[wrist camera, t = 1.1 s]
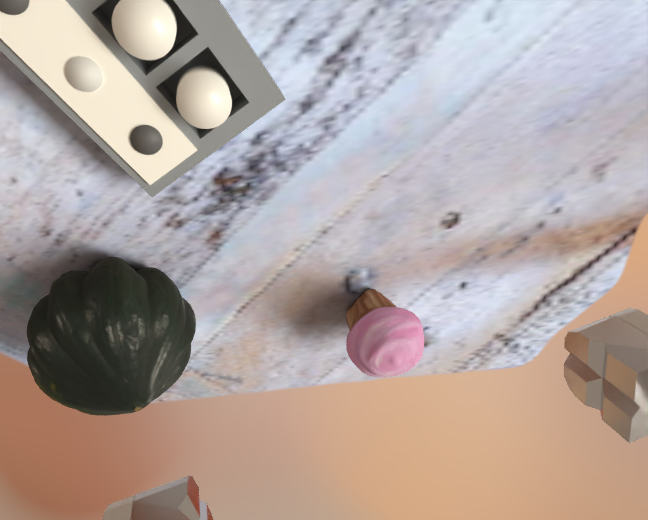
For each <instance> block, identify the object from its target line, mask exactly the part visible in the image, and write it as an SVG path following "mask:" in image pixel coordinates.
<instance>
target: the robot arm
mask: <svg viewBox="0 0 648 520" xmlns="http://www.w3.org/2000/svg"><path fill="white" fill-rule="evenodd" d="M564 347H565V349H566V350H568V351H569V352H570V355H569V356H568V358H567V360H566V361H565V363H564V377H565V379H566V381H567V384H568V386H569V388H570V390H571V391H572V392H573V394H574V395H575V396H576V397H577V398H578V399H579V400H580V401H581V402H582V403H583V404H585V405H586V406H590V407H593V408H596V409H599V410H600V412H601V416H602V420H603V421H604V422H606V423H607V424H608V425H609V426H610V427H611V428H612V429H614V430H615V431H616V432H617V433H618V434H619V435H621V436H622V437H623V438H624V439H625V440H627V441H628V442H629V443H631V442H633V441H636V440H638V439H641V438H643V437H646V436H648V315H647V314H645V313H643V312H642V311H640V310H637V309H632V308H628V309H626V310H623V311H621V312H618V313H616V314H613V315H610V316H609V317H605V318H603V319H600V320H598V321H595V322H592V323H590V324H587V325H585V326H582V327H580V328H577V329H575V330H572V331H569V332H568V333H567V335H566V337H565V346H564ZM103 520H213V517H212V514H211V512H210V509H209V508H208V505H207V503H205V502H202V501H200V500H199V487H198V485H197V484H196V482H195V480H194V478H193V476H187V477H184V478H181V479H179V480H176V481H173V482H170V483H167V484H164V485H161V486H159V487H156V488H153V489H150V490H148V491H144V492H142V493H139V494H137V495H135V496H132V497H129V498H126V499H123V500H120V501H117V502H115V503H112V504H109V505H108V507H107V509H106V511H105V513H104V516H103Z"/></svg>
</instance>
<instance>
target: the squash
mask: <svg viewBox="0 0 648 520" xmlns="http://www.w3.org/2000/svg"><path fill="white" fill-rule="evenodd" d="M195 327H196V319H195V314H194V311H193V309H192V307H191V305H190V304H189V303H188V302H187V301H186V300H185V299H184V298H182V296H181V294H180V292H179V290H178V288H177V286H176V285H175V284H174V282H173V281H172V280H171V279H170V278H169V277H168V276H167V275H166V274H164V273H163V272H162V271H160V270H158V269H156V268H143V269H139V270H137V271H135V270H134V269H133V268H132V267H131V266H130V265H128V264H127V263H126V262H125V261H124V260H122V259H120V258H116V257H110V258H106V259H104V260H103V261H101V262H100V263H98V264H97V265H96V266H94V267H93V268H92V270H91V271H90V272H89V273H87V272H83V271H70V272H67V273H65V274H63V275H62V276H61V277H60V278H59V279H57V280H56V281H54V283H53V284H52V287H51V290H50V294H49V295H47V296H46V297H44V298H42V299H41V300H40V301H39V302H38V303H37V304H36V306H35V307H34V309H33V311H32V314H31V317H30V319H29V321H28V326H27V337H28V341H29V345H30V348H29V350H28V357H27V361H28V365H29V368H30V370H31V372H32V375H33V377H34V380H35V382H36V383H37V385H38V386H39V388H40V389H41V390H42V391H43V392H44V393H45V394H47V395H48V396H49V397H50V398H52V399H53V400H55V401H57V402H59V403H61V404H62V405H64V406H67V407H69V408H74V409H77V410H79V411H81V412H84V413H87V414H90V415H117V414H127V413H133V412H136V411H139V410H141V409H142V408H144V407H145V406H147V405H148V404H149V403H150V402H151V401H153V400H154V399H156V398H158V397H159V396H160V395H161V394H162V393H164V392H165V391H166V390H167V389H169V388H170V387H171V386H172V385H173V384H174V383H175V382H176V381H177V380H178V379H179V377H180V376H181V375H182V373H183V371H184V369H185V367H186V365H187V363H188V361H189V358H190V353H191V342H192V340H193V337H194V334H195Z"/></svg>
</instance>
